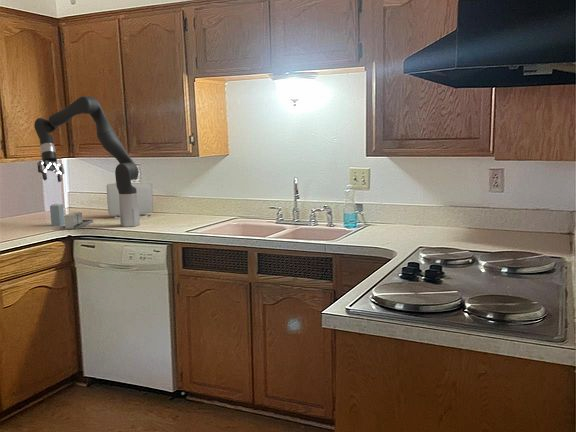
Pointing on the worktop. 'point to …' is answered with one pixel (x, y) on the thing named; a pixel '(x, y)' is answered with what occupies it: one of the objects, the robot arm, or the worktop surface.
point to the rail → (75, 221)
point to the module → (57, 214)
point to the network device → (142, 198)
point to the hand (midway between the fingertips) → (52, 180)
